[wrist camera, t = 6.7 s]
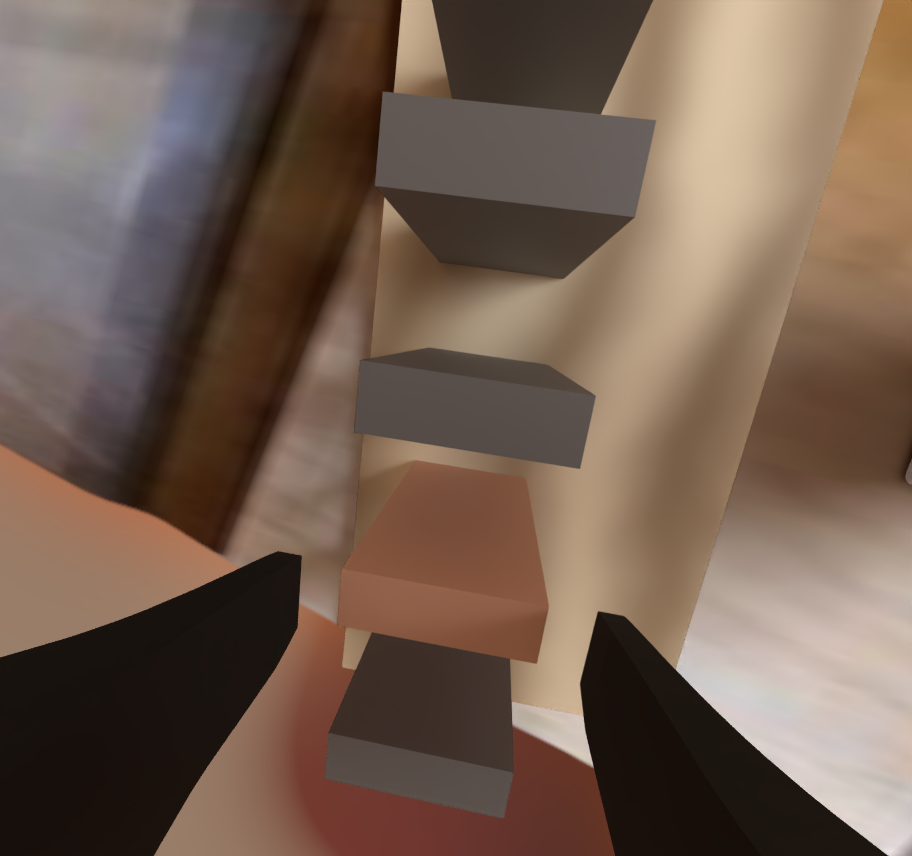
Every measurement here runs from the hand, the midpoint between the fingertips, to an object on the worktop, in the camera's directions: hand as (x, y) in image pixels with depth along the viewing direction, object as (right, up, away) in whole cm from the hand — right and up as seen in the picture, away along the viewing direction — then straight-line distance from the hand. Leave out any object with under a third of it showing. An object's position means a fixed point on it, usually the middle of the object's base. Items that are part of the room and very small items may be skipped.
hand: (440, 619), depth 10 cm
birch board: (+5, +6, +9) cm, 11 cm away
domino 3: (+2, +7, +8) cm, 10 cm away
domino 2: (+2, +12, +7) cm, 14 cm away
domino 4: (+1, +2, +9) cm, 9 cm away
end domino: (0, -3, +10) cm, 10 cm away
